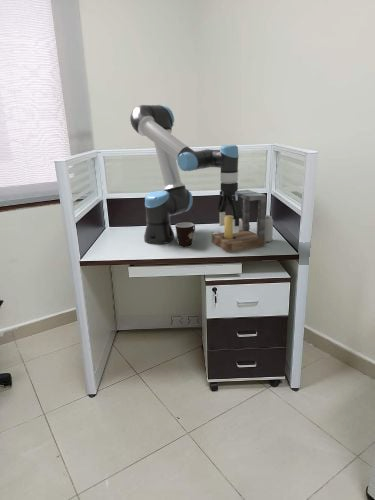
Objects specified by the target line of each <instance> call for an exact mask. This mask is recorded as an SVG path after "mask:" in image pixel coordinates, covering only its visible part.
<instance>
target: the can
mask: <svg viewBox="0 0 375 500" xmlns="http://www.w3.org/2000/svg"><path fill="white" fill-rule="evenodd" d="M257 226H258V218H257V219H256V227H257ZM273 226H274V219H273V216H271V215H267V214H265V238H264V244H265V243H269V242H271V241H273V230H274V229H273V228H274V227H273ZM256 234H257V230H256Z"/></svg>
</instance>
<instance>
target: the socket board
mask: <svg viewBox="0 0 375 500" xmlns="http://www.w3.org/2000/svg"><path fill="white" fill-rule="evenodd" d="M235 195H239V198H240V199H242V230H239V233H233V239H229V240H226V239H224V232H218V233H213V234H211V243H212V244H214V245H215V246H217V247H218V248H220V249H222V251H224V252H225V253H233V252H234V253H235V252H238V251H239V252H240V251H243V250H244V251H245V250H251V249H255V248H261V247H265V243H264V238H265V215H267V211H266V209H267V195H266V194H264V193H260V192H257V191H253V190H250V189H242V190H240V189H239V190H237V191H236V192H235ZM251 201H258V202H257V203H258V205H257V219H258V226H257V225H256V231H257V234H256V233H255V232H253V231H252V230H249V225H250V215H251V213H250V210H251V209H250V208H251V207H250V206H251V205H250V204H251Z"/></svg>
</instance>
